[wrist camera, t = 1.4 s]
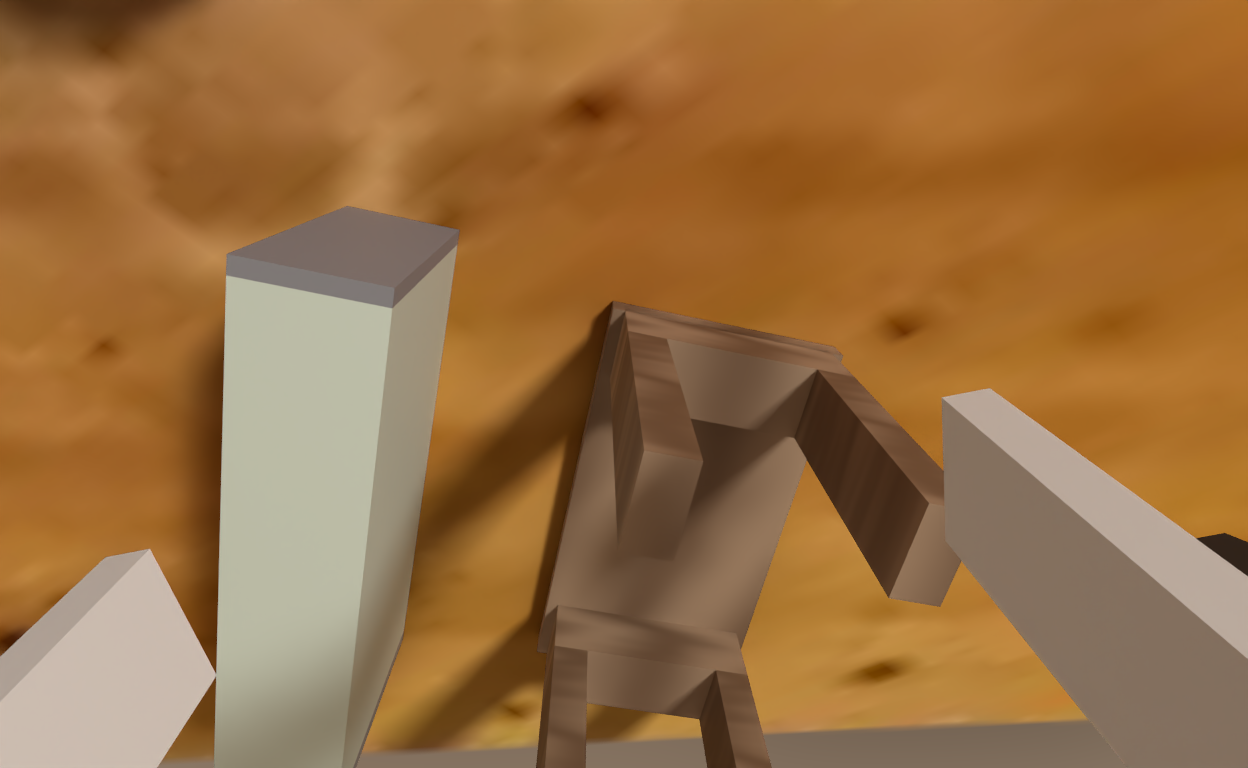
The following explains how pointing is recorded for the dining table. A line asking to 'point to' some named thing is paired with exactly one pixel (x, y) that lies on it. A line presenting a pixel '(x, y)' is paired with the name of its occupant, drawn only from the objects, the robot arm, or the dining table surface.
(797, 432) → the u-shaped post stand
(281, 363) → the cream rectangular block
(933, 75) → the dining table surface
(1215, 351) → the dining table surface
